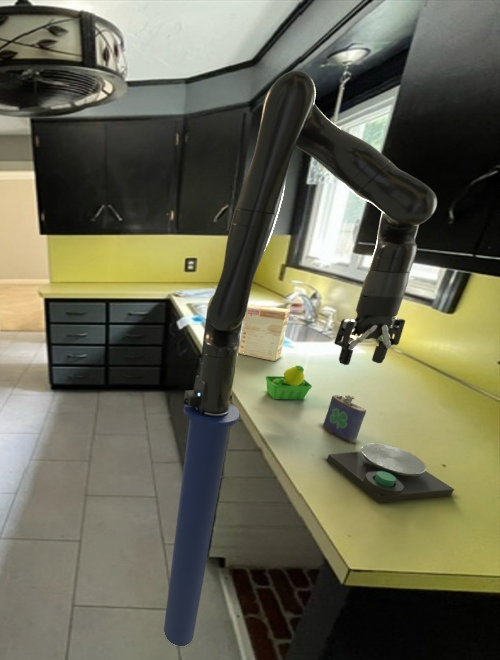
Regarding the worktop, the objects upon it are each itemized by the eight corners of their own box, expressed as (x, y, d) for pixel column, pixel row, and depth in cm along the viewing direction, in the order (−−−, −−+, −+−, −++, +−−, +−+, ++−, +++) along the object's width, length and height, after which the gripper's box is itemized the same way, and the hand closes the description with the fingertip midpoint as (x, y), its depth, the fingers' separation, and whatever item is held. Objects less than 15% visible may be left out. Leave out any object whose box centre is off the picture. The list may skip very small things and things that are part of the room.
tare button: (383, 488, 69) (386, 481, 68) (370, 478, 72) (372, 471, 71) (397, 486, 69) (400, 480, 69) (383, 476, 72) (386, 470, 72)
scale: (378, 504, 69) (383, 492, 67) (324, 460, 82) (328, 448, 80) (453, 497, 71) (459, 484, 69) (389, 454, 84) (393, 443, 83)
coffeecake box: (280, 357, 146) (291, 309, 139) (275, 361, 141) (285, 312, 134) (243, 349, 155) (251, 304, 148) (237, 353, 150) (245, 306, 143)
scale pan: (391, 478, 71) (392, 475, 71) (348, 447, 81) (349, 445, 81) (439, 473, 73) (440, 471, 72) (391, 443, 83) (392, 441, 82)
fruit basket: (297, 391, 116) (305, 357, 112) (311, 403, 108) (321, 368, 104) (261, 390, 116) (268, 357, 112) (273, 402, 108) (281, 367, 104)
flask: (358, 442, 88) (371, 403, 84) (348, 444, 88) (361, 404, 84) (328, 424, 97) (339, 387, 92) (319, 425, 96) (329, 388, 92)
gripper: (395, 289, 82) (374, 356, 89) (339, 290, 81) (321, 359, 87) (427, 294, 76) (401, 367, 82) (366, 296, 74) (344, 370, 80)
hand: (360, 363), depth 85 cm, fingers open, 8 cm apart
